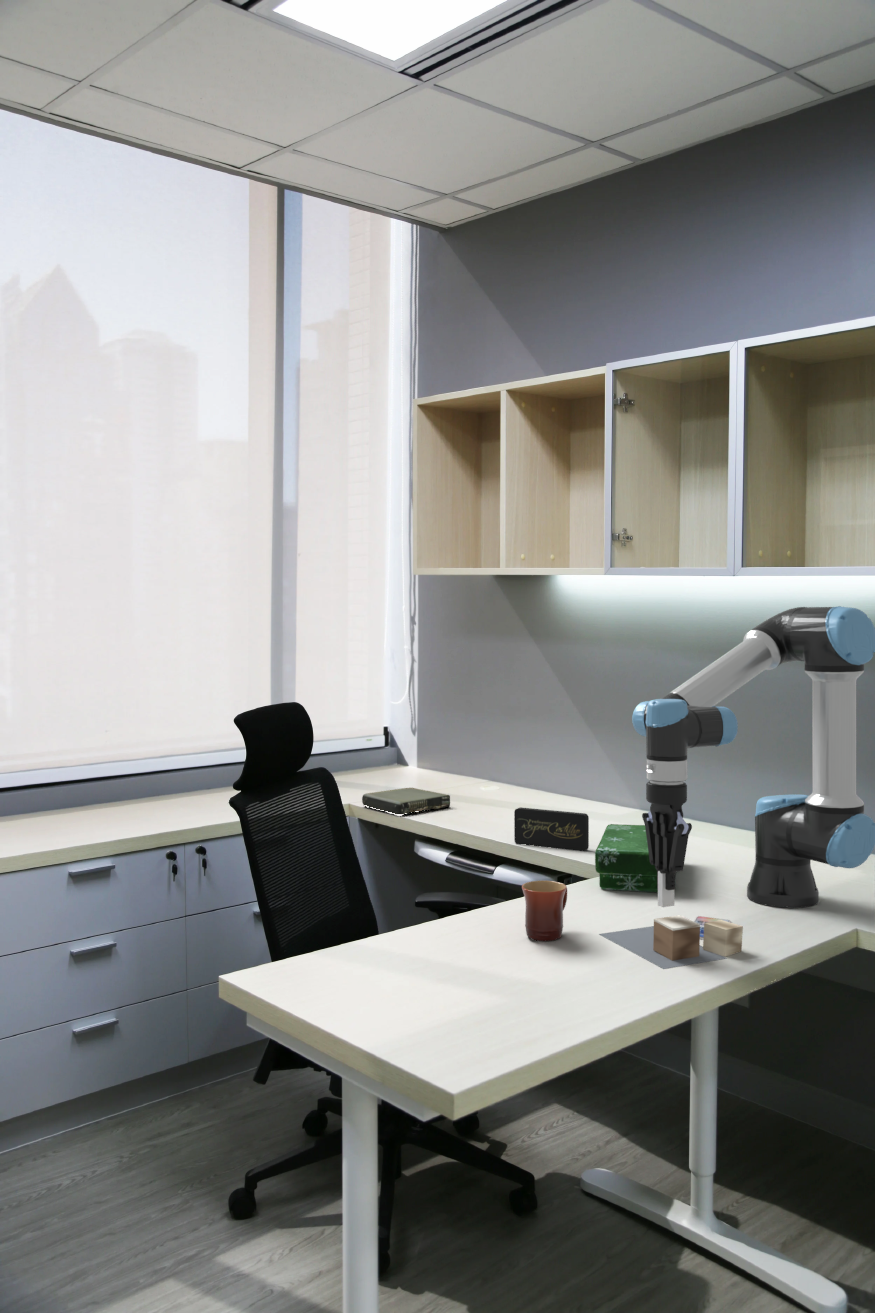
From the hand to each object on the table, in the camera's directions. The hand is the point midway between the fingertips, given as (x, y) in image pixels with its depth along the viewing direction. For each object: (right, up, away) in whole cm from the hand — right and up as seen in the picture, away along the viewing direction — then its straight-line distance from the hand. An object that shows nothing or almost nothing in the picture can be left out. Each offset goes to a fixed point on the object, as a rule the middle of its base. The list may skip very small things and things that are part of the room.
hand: (666, 905), depth 198 cm
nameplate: (-12, -5, +87) cm, 88 cm away
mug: (-21, -9, +10) cm, 25 cm away
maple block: (+10, -8, -1) cm, 13 cm away
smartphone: (+11, -9, +13) cm, 19 cm away
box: (+5, -7, +56) cm, 56 cm away
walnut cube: (+1, -2, -3) cm, 4 cm away
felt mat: (-1, -9, +2) cm, 9 cm away
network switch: (-54, -3, +145) cm, 154 cm away
